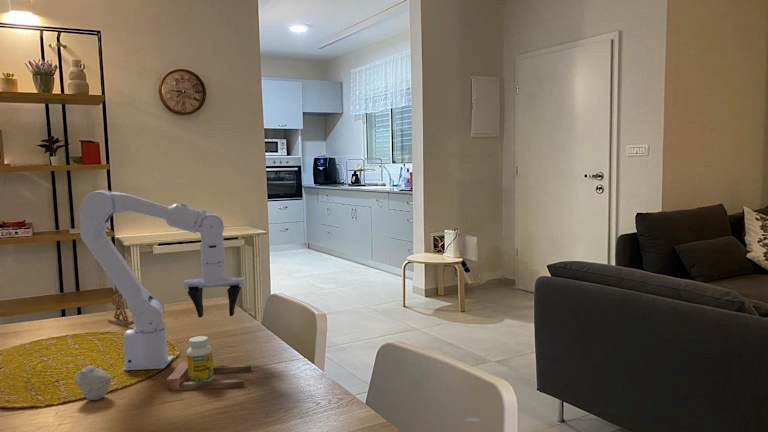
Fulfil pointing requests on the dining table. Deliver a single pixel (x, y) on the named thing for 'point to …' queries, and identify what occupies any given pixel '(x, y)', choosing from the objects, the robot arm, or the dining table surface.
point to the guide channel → (181, 375)
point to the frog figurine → (93, 382)
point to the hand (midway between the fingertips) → (216, 315)
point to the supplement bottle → (199, 360)
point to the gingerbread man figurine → (119, 320)
